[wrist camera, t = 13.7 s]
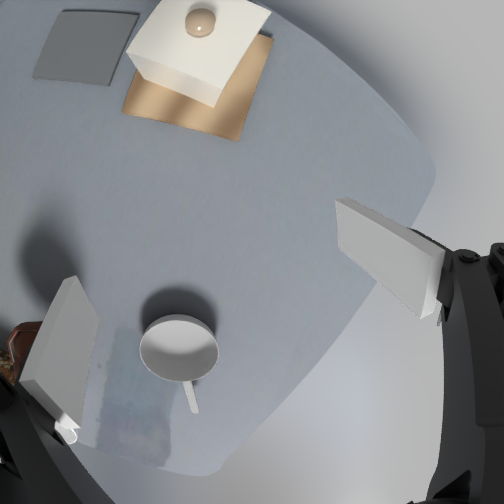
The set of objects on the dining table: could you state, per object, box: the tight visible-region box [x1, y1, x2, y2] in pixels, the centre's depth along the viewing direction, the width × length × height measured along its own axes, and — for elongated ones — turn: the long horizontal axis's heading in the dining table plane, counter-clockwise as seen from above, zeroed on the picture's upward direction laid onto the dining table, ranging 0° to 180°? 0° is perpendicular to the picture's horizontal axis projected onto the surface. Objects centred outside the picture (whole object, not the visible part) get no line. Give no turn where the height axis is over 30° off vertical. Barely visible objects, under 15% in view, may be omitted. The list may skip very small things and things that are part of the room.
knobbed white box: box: [126, 0, 271, 108], centre depth 22 cm, size 9×9×11 cm
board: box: [122, 34, 274, 142], centre depth 29 cm, size 14×14×1 cm
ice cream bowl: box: [6, 321, 43, 378], centre depth 29 cm, size 11×11×15 cm
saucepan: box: [140, 314, 219, 413], centre depth 40 cm, size 11×18×4 cm, turn 4°
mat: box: [32, 11, 139, 86], centre depth 24 cm, size 12×10×1 cm
